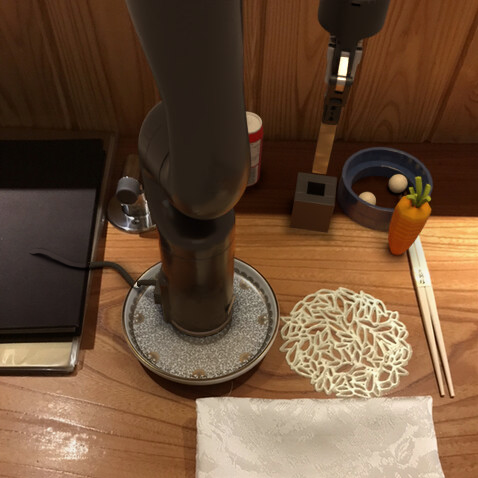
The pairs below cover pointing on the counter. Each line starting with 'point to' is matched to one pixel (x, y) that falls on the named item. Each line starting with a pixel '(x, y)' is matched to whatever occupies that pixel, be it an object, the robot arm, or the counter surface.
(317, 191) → the stick holder
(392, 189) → the bead
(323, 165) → the stick
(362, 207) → the bowl
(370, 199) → the bead
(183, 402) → the counter surface
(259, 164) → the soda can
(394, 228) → the carrot
